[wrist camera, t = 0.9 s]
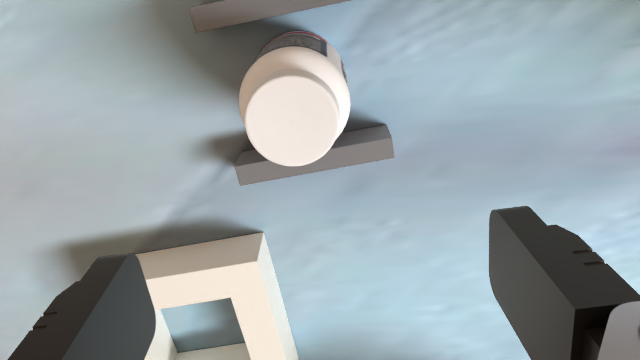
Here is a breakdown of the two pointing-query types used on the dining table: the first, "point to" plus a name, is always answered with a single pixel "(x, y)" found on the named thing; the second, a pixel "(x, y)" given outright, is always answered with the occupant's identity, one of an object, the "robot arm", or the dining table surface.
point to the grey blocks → (350, 147)
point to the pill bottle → (295, 99)
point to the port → (221, 296)
